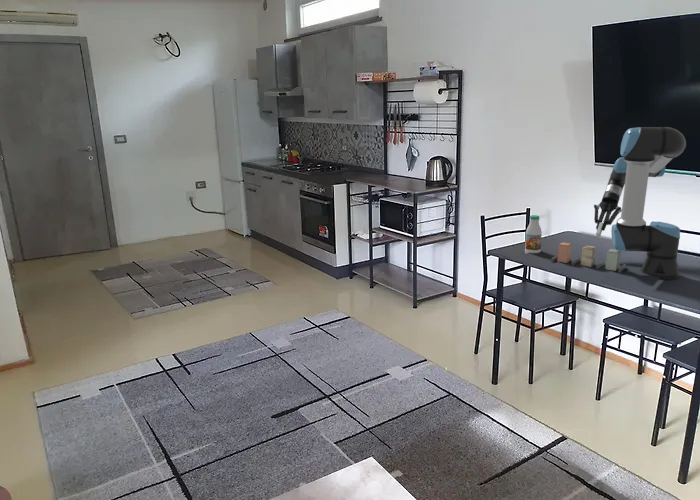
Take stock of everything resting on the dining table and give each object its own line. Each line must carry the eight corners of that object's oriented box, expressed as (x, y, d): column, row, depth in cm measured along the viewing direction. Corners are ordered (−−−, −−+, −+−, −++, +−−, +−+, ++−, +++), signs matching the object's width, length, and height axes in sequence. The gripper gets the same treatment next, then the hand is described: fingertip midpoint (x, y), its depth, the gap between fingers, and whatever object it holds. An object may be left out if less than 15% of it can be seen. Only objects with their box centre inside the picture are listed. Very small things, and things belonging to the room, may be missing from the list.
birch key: (584, 262, 258) (585, 245, 256) (594, 264, 255) (595, 246, 253) (580, 265, 254) (582, 247, 252) (590, 266, 251) (592, 249, 249)
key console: (558, 259, 268) (558, 253, 268) (625, 270, 249) (626, 264, 248) (550, 264, 261) (550, 258, 260) (619, 275, 241) (620, 269, 241)
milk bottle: (521, 252, 283) (523, 215, 278) (534, 251, 285) (536, 213, 280) (530, 256, 276) (532, 217, 271) (543, 254, 278) (545, 216, 273)
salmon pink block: (561, 259, 265) (562, 242, 263) (570, 260, 262) (571, 243, 260) (557, 261, 261) (558, 244, 259) (566, 263, 258) (568, 245, 256)
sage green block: (608, 266, 251) (610, 248, 249) (619, 268, 248) (621, 250, 246) (605, 269, 247) (607, 251, 245) (615, 270, 244) (617, 252, 242)
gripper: (627, 201, 268) (613, 241, 260) (599, 199, 276) (585, 237, 269) (625, 192, 263) (611, 232, 255) (596, 190, 271) (582, 229, 263)
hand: (598, 235), depth 262 cm, fingers closed
